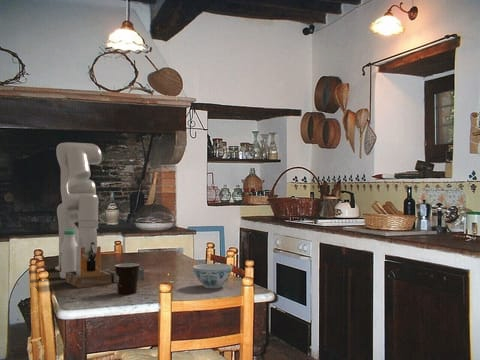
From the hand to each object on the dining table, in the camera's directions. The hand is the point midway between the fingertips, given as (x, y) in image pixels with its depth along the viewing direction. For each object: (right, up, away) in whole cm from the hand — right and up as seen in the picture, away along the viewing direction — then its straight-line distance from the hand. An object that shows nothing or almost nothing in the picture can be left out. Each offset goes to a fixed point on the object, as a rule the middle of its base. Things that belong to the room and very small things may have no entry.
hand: (88, 269), depth 199 cm
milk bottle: (-12, -6, +13) cm, 19 cm away
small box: (0, -4, 0) cm, 4 cm away
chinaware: (+50, -5, -8) cm, 51 cm away
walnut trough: (0, -5, 0) cm, 5 cm away
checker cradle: (+12, -6, +8) cm, 16 cm away
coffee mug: (+20, -5, -22) cm, 30 cm away
